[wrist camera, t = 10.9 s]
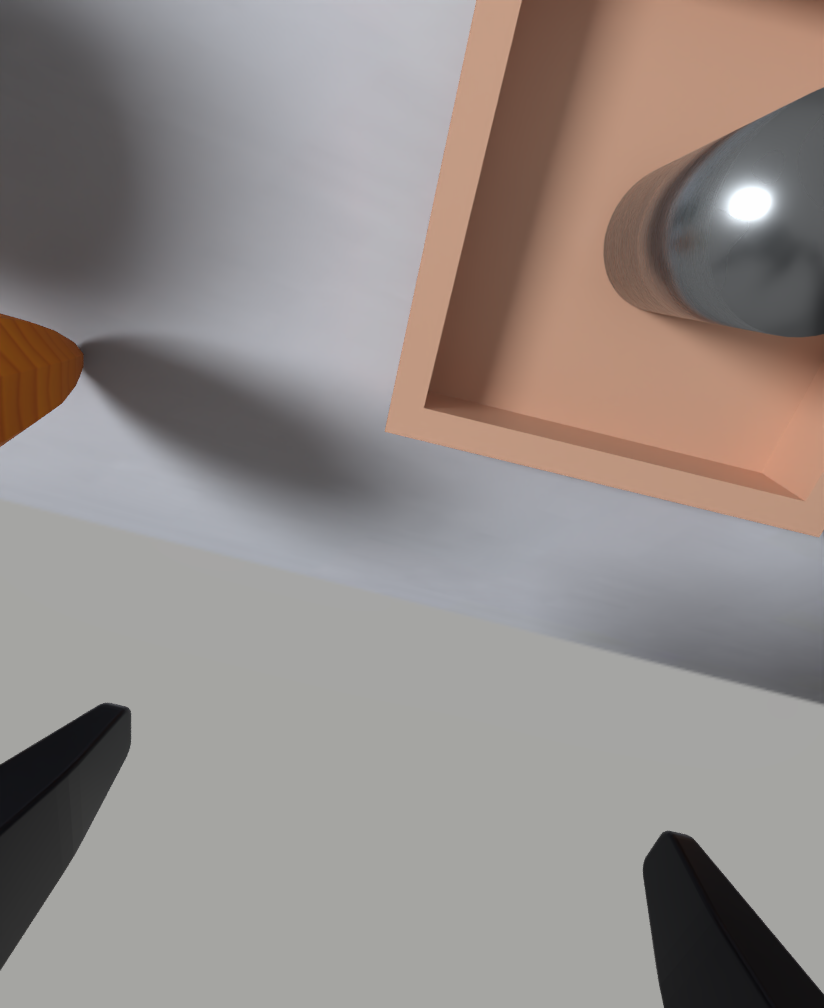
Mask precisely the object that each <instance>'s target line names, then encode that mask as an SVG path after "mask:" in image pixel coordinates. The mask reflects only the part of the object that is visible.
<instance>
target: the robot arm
mask: <svg viewBox="0 0 824 1008" xmlns="http://www.w3.org/2000/svg"><path fill="white" fill-rule="evenodd" d="M130 745H131V711H130V709H129V708H128V707H125V706H121V705H117V704H112V703H103V704H100V705H98V706H97V707H95V708H93V709H92V710H90V711H88V712H87V713H85V714H83V715H82V716H80V717H78V718H77V719H75V720H73V721H72V722H70V723H68V724H67V725H65V726H64V727H62V728H60V729H58V730H57V731H55V732H54V733H52V734H50V735H49V736H47V737H45V738H43V739H42V740H40V741H38V742H37V743H35V744H34V745H32V746H30V747H29V748H27V749H25V750H24V751H22V752H20V753H19V754H17V755H15V756H14V757H12V758H10V759H9V760H7V761H5V762H4V763H2V764H0V970H1V969H2V967H3V966H4V964H5V962H6V961H7V959H8V958H9V956H10V955H11V953H12V952H13V950H14V949H15V947H16V946H17V944H18V942H19V941H20V939H21V938H22V936H23V935H24V933H25V932H26V930H27V928H28V927H29V925H30V924H31V922H32V921H33V919H34V918H35V916H36V915H37V913H38V912H39V910H40V908H41V907H42V905H43V904H44V902H45V901H46V899H47V898H48V896H49V895H50V893H51V892H52V890H53V888H54V887H55V885H56V884H57V882H58V881H59V879H60V878H61V876H62V875H63V873H64V871H65V870H66V868H67V867H68V865H69V863H70V861H71V860H72V858H73V857H74V855H75V853H76V852H77V850H78V848H79V846H80V844H81V842H82V841H83V839H84V837H85V835H86V833H87V831H88V829H89V827H90V825H91V823H92V821H93V820H94V818H95V816H96V814H97V812H98V810H99V808H100V806H101V804H102V803H103V801H104V799H105V797H106V795H107V793H108V791H109V789H110V787H111V785H112V784H113V782H114V780H115V778H116V776H117V774H118V772H119V770H120V768H121V766H122V764H123V763H124V760H125V759H126V757H127V754H128V752H129V749H130ZM643 878H644V885H645V892H646V899H647V906H648V913H649V919H650V926H651V933H652V940H653V948H654V954H655V962H656V968H657V974H658V980H659V986H660V990H661V995H662V1000H663V1005H664V1008H824V994H823V993H822V992H821V990H820V989H819V988H818V987H817V986H816V984H815V983H814V982H813V981H812V980H811V978H810V977H809V976H808V975H807V974H806V972H805V971H804V970H803V969H802V968H801V966H800V965H799V964H798V963H797V962H796V960H795V959H794V958H793V957H792V956H791V954H790V953H789V952H788V951H787V950H786V949H785V947H784V946H783V945H782V944H781V943H780V941H779V940H778V939H777V938H776V937H775V935H774V934H773V933H772V932H771V931H770V930H769V928H768V927H767V926H766V925H765V923H764V922H763V921H762V920H761V919H760V918H759V916H758V915H757V914H756V913H755V911H754V910H753V909H752V908H751V907H750V905H749V904H748V903H747V902H746V901H745V899H744V898H743V897H742V896H741V895H740V893H739V892H738V891H737V890H736V889H735V888H734V886H733V885H732V884H731V883H730V882H729V880H728V879H727V878H726V877H725V876H724V874H723V873H722V872H721V871H720V870H719V868H718V867H717V866H716V865H715V864H714V863H713V861H712V860H711V859H710V858H709V856H708V855H707V854H706V853H705V852H704V850H703V849H702V848H701V847H700V846H699V844H698V843H697V842H696V841H695V840H694V839H693V838H692V837H690V836H688V835H685V834H681V833H677V832H672V831H665V832H663V833H662V834H661V836H660V837H659V838H658V840H657V841H656V843H655V844H654V846H653V847H652V849H651V850H650V852H649V853H648V855H647V856H646V858H645V860H644V864H643Z"/></svg>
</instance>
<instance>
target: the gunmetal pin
mask: <svg viewBox="0 0 824 1008" xmlns="http://www.w3.org/2000/svg"><path fill="white" fill-rule="evenodd" d="M603 255H604V265H605V269H606V273H607V276H608V278H609V281H610V283H611V284H612V286H613V288H614V289H615V291H616V292H617V293H618V295H619V296H620V297H622V298H623V299H624V300H625V301H626V302H628V303H629V304H630V305H632V306H634V307H636V308H638V309H642V310H645V311H649V312H654V313H660V314H665V315H670V316H676V317H681V318H686V319H692V320H697V321H702V322H707V323H713V324H718V325H723V326H729V327H734V328H739V329H745V330H750V331H755V332H761V333H766V334H771V335H777V336H783V337H810V336H817V335H822V334H824V87H823V88H821V89H819V90H816V91H814V92H812V93H810V94H808V95H806V96H804V97H802V98H800V99H797V100H795V101H793V102H791V103H789V104H787V105H785V106H783V107H781V108H779V109H777V110H775V111H773V112H771V113H769V114H767V115H765V116H763V117H761V118H759V119H757V120H755V121H753V122H751V123H749V124H747V125H745V126H743V127H741V128H739V129H737V130H735V131H733V132H731V133H729V134H727V135H725V136H723V137H721V138H719V139H717V140H715V141H713V142H711V143H709V144H707V145H705V146H703V147H701V148H699V149H697V150H695V151H693V152H691V153H689V154H687V155H685V156H683V157H681V158H679V159H677V160H675V161H673V162H671V163H668V164H666V165H664V166H662V167H660V168H658V169H656V170H654V171H653V172H651V173H649V174H648V175H646V176H644V177H643V178H642V179H641V180H639V181H638V182H637V183H636V184H635V185H633V186H632V187H631V188H630V189H629V190H628V192H627V193H626V194H625V195H624V196H623V198H622V199H621V201H620V202H619V204H618V205H617V207H616V208H615V210H614V212H613V214H612V216H611V219H610V221H609V224H608V227H607V230H606V234H605V240H604V253H603Z"/></svg>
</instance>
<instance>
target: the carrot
mask: <svg viewBox="0 0 824 1008" xmlns="http://www.w3.org/2000/svg"><path fill="white" fill-rule="evenodd" d="M82 369H83V353H82V352H81V350H80V349H79V348H78V347H77V345H76V344H75V343H74V342H73V341H71V340H69V339H68V338H66V337H64V336H63V335H61V334H59V333H58V332H56V331H54V330H51V329H48V328H46V327H43V326H40V325H37V324H34V323H31V322H28V321H25V320H21V319H18V318H14V317H11V316H7V315H4V314H0V447H1V446H2V445H4V444H5V443H6V442H8V441H9V440H11V439H12V438H14V437H15V436H16V435H18V434H19V433H21V432H22V431H24V430H25V429H27V428H28V427H29V426H31V425H32V424H34V423H35V422H37V421H38V420H39V419H41V418H42V417H44V416H45V415H46V414H48V413H49V412H51V411H52V410H53V409H55V408H56V407H58V406H59V405H60V404H62V403H63V401H64V400H65V399H66V398H67V396H68V395H69V394H70V393H71V391H72V390H73V389H74V387H75V386H76V384H77V382H78V379H79V377H80V374H81V372H82Z"/></svg>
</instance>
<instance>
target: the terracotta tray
mask: <svg viewBox="0 0 824 1008" xmlns="http://www.w3.org/2000/svg"><path fill="white" fill-rule="evenodd" d="M823 87H824V0H476V5H475V10H474V14H473V19H472V24H471V29H470V33H469V38H468V43H467V47H466V52H465V57H464V61H463V66H462V71H461V76H460V80H459V85H458V90H457V94H456V99H455V104H454V108H453V113H452V118H451V122H450V127H449V132H448V137H447V141H446V146H445V151H444V155H443V160H442V165H441V169H440V174H439V179H438V183H437V188H436V193H435V198H434V202H433V207H432V212H431V216H430V221H429V226H428V230H427V235H426V240H425V245H424V249H423V254H422V259H421V263H420V268H419V273H418V277H417V282H416V287H415V291H414V296H413V301H412V306H411V310H410V315H409V320H408V324H407V329H406V334H405V338H404V343H403V348H402V353H401V357H400V362H399V367H398V371H397V376H396V381H395V385H394V390H393V395H392V399H391V404H390V409H389V414H388V418H387V423H386V428H385V432H388V433H392V434H397V435H401V436H405V437H409V438H413V439H417V440H421V441H425V442H429V443H434V444H438V445H442V446H446V447H450V448H454V449H458V450H462V451H466V452H471V453H475V454H479V455H483V456H487V457H491V458H495V459H499V460H503V461H508V462H512V463H516V464H520V465H524V466H528V467H532V468H536V469H540V470H545V471H549V472H553V473H557V474H561V475H565V476H569V477H573V478H577V479H582V480H586V481H590V482H594V483H598V484H602V485H606V486H610V487H614V488H619V489H623V490H627V491H631V492H635V493H639V494H643V495H647V496H651V497H656V498H660V499H664V500H668V501H672V502H676V503H680V504H684V505H688V506H693V507H697V508H701V509H705V510H709V511H713V512H717V513H721V514H725V515H730V516H734V517H738V518H742V519H746V520H750V521H754V522H758V523H762V524H767V525H771V526H775V527H779V528H783V529H787V530H791V531H795V532H799V533H804V534H808V535H812V536H816V537H820V535H821V534H822V532H823V530H824V334H822V335H817V336H810V337H783V336H777V335H771V334H766V333H761V332H755V331H750V330H745V329H739V328H734V327H729V326H723V325H718V324H713V323H707V322H702V321H697V320H692V319H686V318H681V317H676V316H670V315H665V314H660V313H654V312H649V311H645V310H642V309H638V308H636V307H634V306H632V305H630V304H629V303H628V302H626V301H625V300H624V299H623V298H622V297H620V296H619V295H618V293H617V292H616V291H615V289H614V288H613V286H612V284H611V283H610V281H609V278H608V276H607V273H606V269H605V265H604V255H603V253H604V240H605V234H606V230H607V227H608V224H609V221H610V219H611V216H612V214H613V212H614V210H615V208H616V207H617V205H618V204H619V202H620V201H621V199H622V198H623V196H624V195H625V194H626V193H627V192H628V190H629V189H630V188H631V187H632V186H633V185H635V184H636V183H637V182H638V181H639V180H641V179H642V178H643V177H644V176H646V175H648V174H649V173H651V172H653V171H654V170H656V169H658V168H660V167H662V166H664V165H666V164H668V163H671V162H673V161H675V160H677V159H679V158H681V157H683V156H685V155H687V154H689V153H691V152H693V151H695V150H697V149H699V148H701V147H703V146H705V145H707V144H709V143H711V142H713V141H715V140H717V139H719V138H721V137H723V136H725V135H727V134H729V133H731V132H733V131H735V130H737V129H739V128H741V127H743V126H745V125H747V124H749V123H751V122H753V121H755V120H757V119H759V118H761V117H763V116H765V115H767V114H769V113H771V112H773V111H775V110H777V109H779V108H781V107H783V106H785V105H787V104H789V103H791V102H793V101H795V100H797V99H800V98H802V97H804V96H806V95H808V94H810V93H812V92H814V91H816V90H819V89H821V88H823Z"/></svg>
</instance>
